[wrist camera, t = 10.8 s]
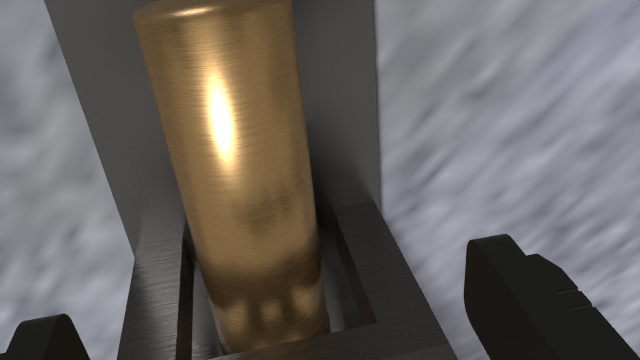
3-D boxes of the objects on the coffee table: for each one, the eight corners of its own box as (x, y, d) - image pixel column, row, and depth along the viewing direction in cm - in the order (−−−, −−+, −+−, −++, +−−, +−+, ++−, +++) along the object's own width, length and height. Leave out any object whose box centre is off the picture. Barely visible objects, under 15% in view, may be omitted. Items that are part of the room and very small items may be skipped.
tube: (145, -4, 19) (113, 34, 14) (287, -20, 19) (298, 11, 14) (246, 393, 30) (245, 482, 25) (334, 379, 30) (348, 465, 26)
